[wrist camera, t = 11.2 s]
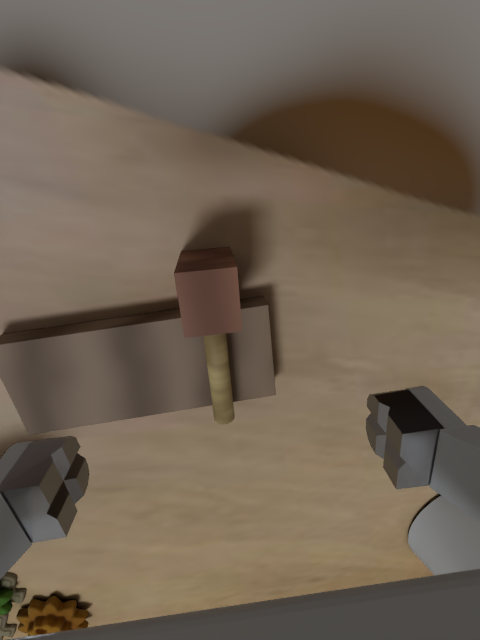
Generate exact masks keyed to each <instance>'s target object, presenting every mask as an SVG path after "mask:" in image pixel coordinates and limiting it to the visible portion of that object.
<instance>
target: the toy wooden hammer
mask: <svg viewBox="0 0 480 640" xmlns="http://www.w3.org/2000/svg"><path fill="white" fill-rule="evenodd" d="M174 277H175V283H176V289H177V295H178V301H179V307H180V314H181V320H182V326H183V332H184V338H189V337H198V336H203V339H204V346H205V354H206V361H207V368H208V376H209V383H210V391H211V398H212V405H213V413H214V420H215V421H216V422H217V423H219V424H228V423H230V422H232V421H233V419H234V407H233V397H232V387H231V377H230V368H229V358H228V348H227V338H226V333H234V332H242V321H241V309H240V296H239V283H238V271H237V265H236V263H235V260H234V257H233V255H232V252H231V250H230V247H223V248H212V249H202V250H191V251H181V253H180V256H179V259H178V263H177V266H176V269H175V272H174Z"/></svg>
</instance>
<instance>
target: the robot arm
mask: <svg viewBox="0 0 480 640" xmlns="http://www.w3.org/2000/svg"><path fill="white" fill-rule="evenodd" d="M367 407H368V409H369V410H370V412H371V414H370V415H369V416H368V417H367V419H366V431H367V436H368V440H369V442H370V445H371V447H372V449H373V451H374V452H375V454H377V455H378V456H380V457H381V458H383V459H384V463H383V468H384V470H385V471H386V473H387V475H388V476H389V478H390V480H391V481H392V483H393V485H394V486H395V488H396V489H402V488H411V487H419V486H428V485H430V488H432V489H433V490H435V491H436V492H437V493H439V494H440V495H441V496H440V497H438V498H437V499H435V500H434V501H432V502H431V503H430V504H429V505H427V506H426V507H425V508H424V509H423V510H422V511H421V512H420V514H419V515H418V516H417V517H416V519H415V520H414V522H413V523H412V525H411V528H410V530H409V534H408V543H409V546H410V548H411V550H412V551H413V552H414V553H415V554H416V556H417V557H418V558H419V559H420V560H421V561H422V562H423V563H424V564H425V565H426V566H427V568H428V569H429V570H430V571H431V572H432V574H433V575H434V576H428V577H421V578H414V579H407V580H401V581H394V582H387V583H381V584H374V585H367V586H361V587H354V588H347V589H341V590H334V591H327V592H321V593H314V594H307V595H300V596H294V597H287V598H280V599H274V600H267V601H260V602H254V603H247V604H240V605H234V606H227V607H221V608H214V609H207V610H201V611H194V612H187V613H181V614H174V615H168V616H161V617H154V618H148V619H141V620H135V621H128V622H121V623H114V624H108V625H101V626H94V627H88V628H81V629H74V630H68V631H61V632H54V633H48V634H41V635H34V636H27V637H21V638H14V639H7V640H480V428H479V427H477V426H475V425H470V426H467V425H466V424H465V423H464V422H463V421H462V420H461V419H460V418H459V417H458V416H457V415H456V414H455V413H454V412H453V411H452V410H450V409H449V408H448V407H447V406H446V405H445V404H444V403H443V402H442V401H441V400H440V399H439V398H438V397H437V396H436V395H435V394H434V393H433V392H432V391H431V390H430V389H429V388H427V387H425V386H419V387H413V388H407V389H404V390H396V391H389V392H382V393H376V394H369V396H368V399H367ZM79 448H80V445H79V443H78V441H77V439H76V437H73V436H66V437H58V438H49V439H41V440H35V441H26V442H18V443H15V444H13V445H12V446H10V447H9V449H8V450H7V451H6V452H5V454H4V455H3V456H2V458H1V459H0V579H1V578H2V577H3V576H4V575H5V574H6V572H7V571H8V570H9V569H10V568H11V567H12V566H13V565H14V564H15V563H16V562H17V560H18V559H19V558H20V557H21V556H22V555H23V554H24V553H25V552H26V551H27V550H28V548H29V547H30V546H31V545H32V544H31V543H34V542H40V541H45V540H51V539H57V538H63V537H66V536H67V534H68V532H69V529H70V527H71V525H72V522H73V520H74V518H75V515H76V513H77V509H76V506H75V503H76V502H77V501H78V500H79V499H80V498H81V497H83V496H84V494H85V491H86V489H87V486H88V480H89V468H88V464H87V461H86V459H85V458H84V457H82V456H81V455H79V454H78V453H77V452H78V450H79Z"/></svg>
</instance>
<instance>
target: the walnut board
mask: <svg viewBox="0 0 480 640" xmlns="http://www.w3.org/2000/svg"><path fill="white" fill-rule="evenodd" d="M240 309H241V321H242V332H234V333H226V338H227V348H228V358H229V368H230V377H231V387H232V397H233V402H235V401H241V400H247V399H254V398H260V397H266V396H272V395H276V389H275V378H274V367H273V355H272V344H271V332H270V321H269V309H268V304H267V302H266V300H265V298H264V296H261V297H254V298H247V299H241V300H240ZM0 377H1V379H2V381H3V383H4V385H5V387H6V389H7V391H8V393H9V395H10V397H11V399H12V401H13V403H14V405H15V407H16V409H17V411H18V413H19V415H20V417H21V419H22V421H23V423H24V425H25V427H26V429H27V431H28V433H29V435H31V434H37V433H43V432H49V431H55V430H61V429H68V428H74V427H80V426H86V425H92V424H99V423H105V422H111V421H117V420H123V419H130V418H136V417H142V416H148V415H154V414H161V413H167V412H173V411H179V410H185V409H192V408H198V407H204V406H210V405H212V398H211V391H210V383H209V376H208V368H207V361H206V354H205V346H204V339H203V336H198V337H189V338H184V332H183V326H182V320H181V314H180V308H179V309H172V310H165V311H159V312H152V313H145V314H138V315H131V316H124V317H118V318H111V319H104V320H97V321H90V322H83V323H77V324H70V325H63V326H56V327H49V328H42V329H36V330H29V331H22V332H15V333H8V334H2V335H0Z"/></svg>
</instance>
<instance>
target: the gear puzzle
mask: <svg viewBox="0 0 480 640" xmlns="http://www.w3.org/2000/svg"><path fill="white" fill-rule="evenodd" d="M16 582H17V576H16V575H15V574H13V573H7V572H6V574H5V575H4V576H3V577H2V578H1V579H0V640H2V639H3V636H8V637H13V635H14V633H15V630H16V626H17V625H16V624H7V619H8V613H9V612H10V610H11V608H12V606H13V605H12V603H11V602H16V603H22V602H23V600H24V598H25V594H26V589H25V588H20V589H17V588H15V586H16ZM76 606H77V602H76V601H75V600H71V601H66V602H61V601H60V600H59V599H58V598H57V597H56V596H52V597H50V598H49V599H48V600H47V601H46V602H43V601H39V600H35V599H32V600H31V601H30V604H29V607H28V608H22V609H20V610H19V611H18V614H17V616H16V617H17V619H18V620H19V621H20V624H19V627H18V630H19V631H21V632H24V633H28V636H34V635H41V634H48V633H54V632H61V631H68V630H74V629H81V628H87V627H88V622H87V621H86V620H85V619H86V618H87V615H88V613H89V612H88V611H87V610H83V609H77V608H76Z"/></svg>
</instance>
